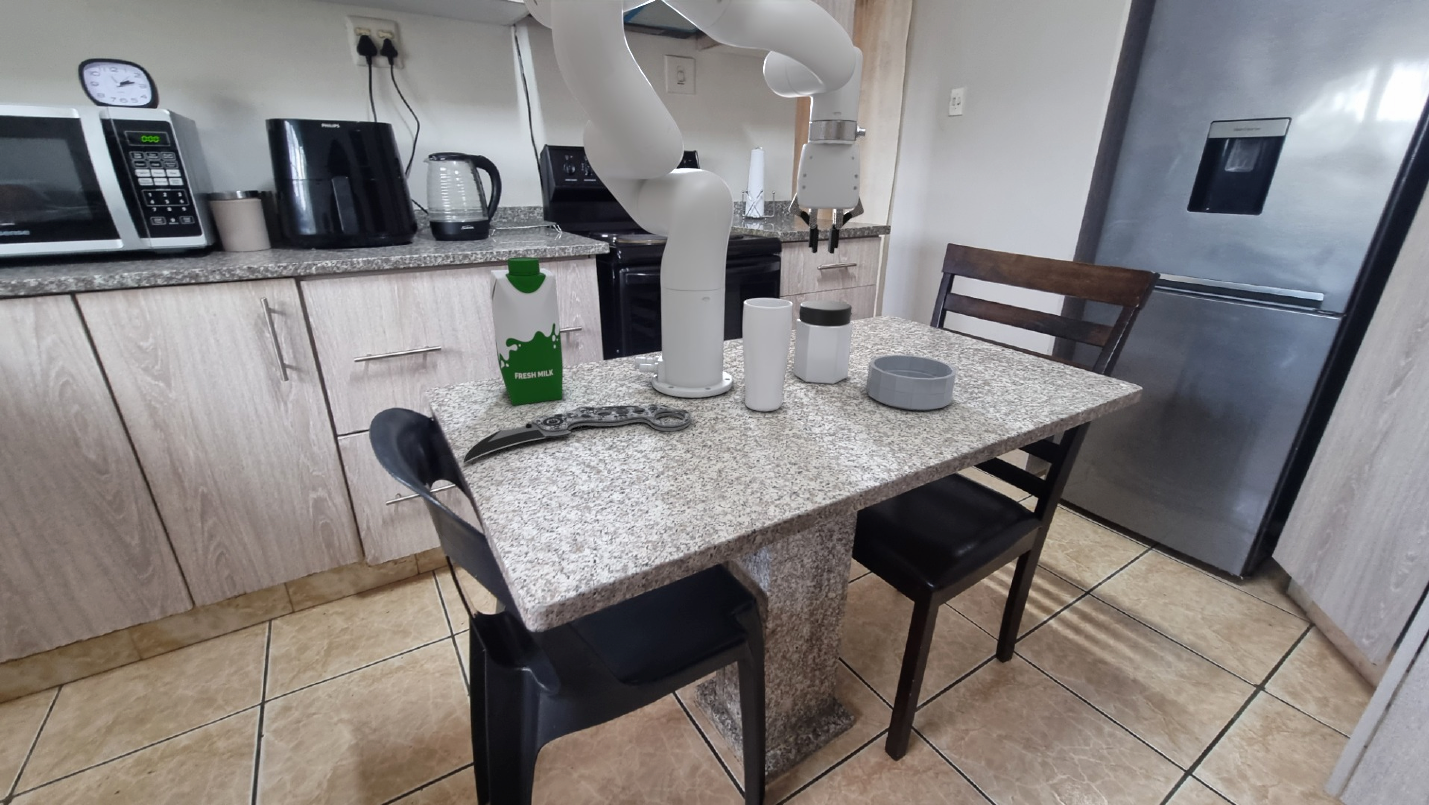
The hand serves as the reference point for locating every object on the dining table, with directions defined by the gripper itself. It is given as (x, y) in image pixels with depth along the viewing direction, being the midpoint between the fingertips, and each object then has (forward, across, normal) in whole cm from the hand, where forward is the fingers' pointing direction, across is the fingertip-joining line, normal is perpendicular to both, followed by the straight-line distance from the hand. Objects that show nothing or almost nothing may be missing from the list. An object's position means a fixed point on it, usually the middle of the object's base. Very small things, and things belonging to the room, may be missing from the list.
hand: (822, 251), depth 100 cm
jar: (+19, 0, +10) cm, 22 cm away
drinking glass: (+19, +10, +26) cm, 33 cm away
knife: (+19, +33, +38) cm, 53 cm away
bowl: (+19, -12, +20) cm, 30 cm away
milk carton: (+19, +44, +24) cm, 54 cm away
